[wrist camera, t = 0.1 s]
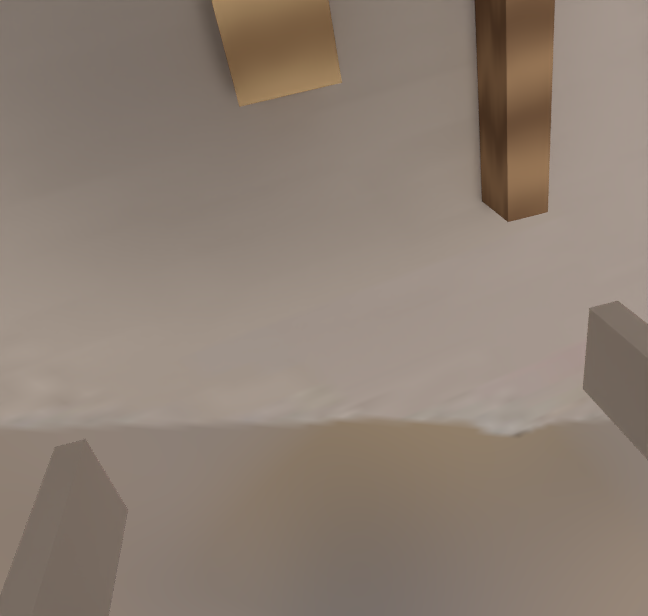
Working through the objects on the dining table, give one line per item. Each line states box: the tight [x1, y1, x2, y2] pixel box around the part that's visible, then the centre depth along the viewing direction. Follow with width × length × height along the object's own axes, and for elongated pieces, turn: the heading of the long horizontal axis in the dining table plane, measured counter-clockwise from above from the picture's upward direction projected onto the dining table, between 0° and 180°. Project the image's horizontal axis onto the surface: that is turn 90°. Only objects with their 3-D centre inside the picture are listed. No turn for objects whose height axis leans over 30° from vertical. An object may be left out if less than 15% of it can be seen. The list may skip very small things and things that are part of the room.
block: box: [212, 0, 342, 107], centre depth 32 cm, size 6×6×6 cm
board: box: [475, 0, 555, 222], centre depth 34 cm, size 26×3×5 cm, turn 11°
